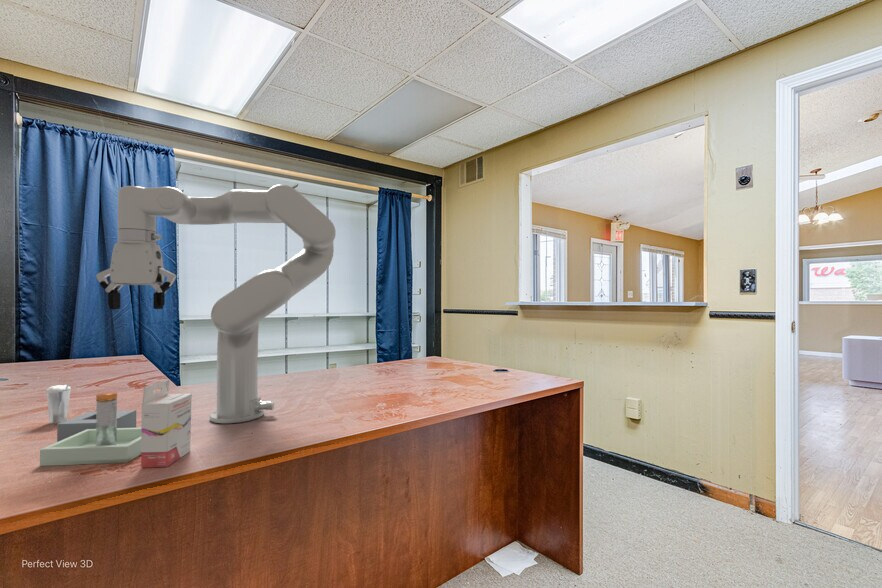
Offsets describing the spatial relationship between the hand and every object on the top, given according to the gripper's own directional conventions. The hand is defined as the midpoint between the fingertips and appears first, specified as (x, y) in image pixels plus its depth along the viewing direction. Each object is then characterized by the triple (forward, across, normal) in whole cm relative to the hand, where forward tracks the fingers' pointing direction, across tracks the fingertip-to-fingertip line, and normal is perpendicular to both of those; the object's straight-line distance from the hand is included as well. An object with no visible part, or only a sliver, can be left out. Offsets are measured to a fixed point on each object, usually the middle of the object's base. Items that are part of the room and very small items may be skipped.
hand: (136, 309), depth 102 cm
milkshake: (+28, +20, -5) cm, 35 cm away
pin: (+28, -4, +18) cm, 33 cm away
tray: (+28, -4, +18) cm, 34 cm away
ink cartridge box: (+28, -18, +24) cm, 41 cm away
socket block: (+28, +4, +6) cm, 29 cm away
